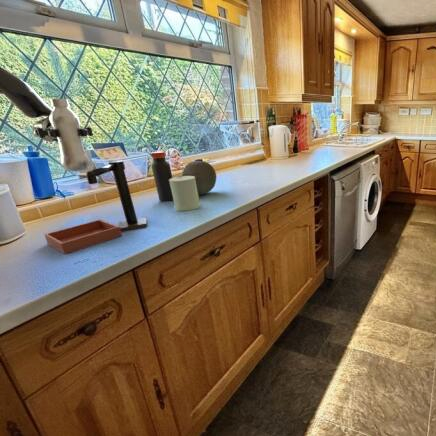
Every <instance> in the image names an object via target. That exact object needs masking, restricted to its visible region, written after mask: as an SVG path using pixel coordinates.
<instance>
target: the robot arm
mask: <svg viewBox="0 0 436 436" xmlns="http://www.w3.org/2000/svg"><path fill="white" fill-rule="evenodd" d="M0 90H1V91H2V92H3V93H2V92H1V91H0V92H1V93H2V94H3V95H4V96H5V97H6V98H7V99H8V100H9V101H10V102H11V103H12V104H13V105H14V106H15V107H16V109H18V110H19V111H20V112H21V113H22V114H23V115H24V116H25V117H28V118H30V119H37V118H40V117H43V118H42V119H39V120H38V121H36V122H33V124H32V127H31V129H32V133H33V135H34V138H39V139H41V140H43V141H45V142H49V143H53V142H56V143H58V139H57V136H56V133H55V130H54V129H53V127H52V125H51V123H50V120H49V116H50V114H51V112H52V110H53V107H52V106H51V107H50V105H49V104H47V102H46V101H44V99H42V97H41V96H40V95H39V94H38V93H37V91H35V89H33V88H32V87H31V86H30V85H29V84H28V83H27V82H25V81H24V80H22V79H21V78H19V77H18V76H16V75H15V74H13V73H11V72H10V71H8V70H7V69H5V68H4V67H2V66H1V65H0ZM80 134H81V138H86V137H87V136H88V137H94V133H93V128H92V126H90V125H87V126H80Z"/></svg>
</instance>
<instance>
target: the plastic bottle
mask: <svg viewBox="0 0 436 436" xmlns="http://www.w3.org/2000/svg"><path fill="white" fill-rule="evenodd" d="M49 100H50V105H51V107H52V109H53V110H52V112H51V114H50V116H49V120H50V123H51V125H52V127H53V129H54V130H55V133H56V136H57V139H58V142H57V143H58V148H59V154H60V164H61V167H62V168H63V169H64V170H65V171H67V172H76V173H77V172H83V171H86V170H88V169H89V168H90V166H91V164H90V162H91V161H90V158H89V156H88V155H87V152H86V150H85V147H84V144H83V139H82V137H81V134H80V127H81V124H80V118H79V117H78V115H77V114H76V112H74V111H73V110H71V109H70V104H69V101H68V98H67V99H65V98H49Z"/></svg>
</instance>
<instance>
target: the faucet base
mask: <svg viewBox="0 0 436 436" xmlns="http://www.w3.org/2000/svg"><path fill="white" fill-rule="evenodd" d="M112 174H113V179H114V181H115V186H116V189H117V192H118V197H119V199H120V202H121V203H120V204H121V207H122V211H123V215H124V218H125V220H124V221H119V222H118V225H117V226H119V227H120V231H121V232H125V231H131V230H137V229H143V228H148V219H147V217H141V218H138V217H137V213H136V210H135V205H134V202H133V199H132V195H131V191H130V187H129V183H128V180H127V176H126V172H125V170H120V171H112Z"/></svg>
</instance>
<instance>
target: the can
mask: <svg viewBox="0 0 436 436" xmlns="http://www.w3.org/2000/svg"><path fill="white" fill-rule="evenodd" d="M169 182H170V186H171V191H172V195H173V200H172V201H173V205H174V210H175V211H177V212H187V211H192V210H196V209H199V208H200V207H201V203H200V198H199V197H200V196H199V194H198V192H197V186H196V181H195V177H194V176H182V175H181V176H175V177H172V178H171V179H169Z"/></svg>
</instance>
